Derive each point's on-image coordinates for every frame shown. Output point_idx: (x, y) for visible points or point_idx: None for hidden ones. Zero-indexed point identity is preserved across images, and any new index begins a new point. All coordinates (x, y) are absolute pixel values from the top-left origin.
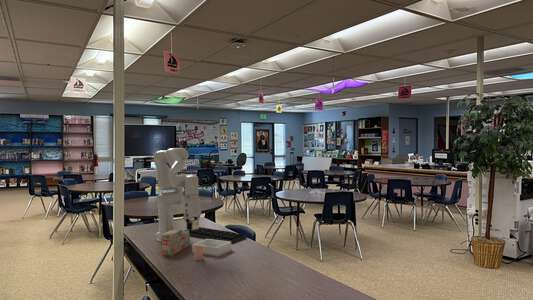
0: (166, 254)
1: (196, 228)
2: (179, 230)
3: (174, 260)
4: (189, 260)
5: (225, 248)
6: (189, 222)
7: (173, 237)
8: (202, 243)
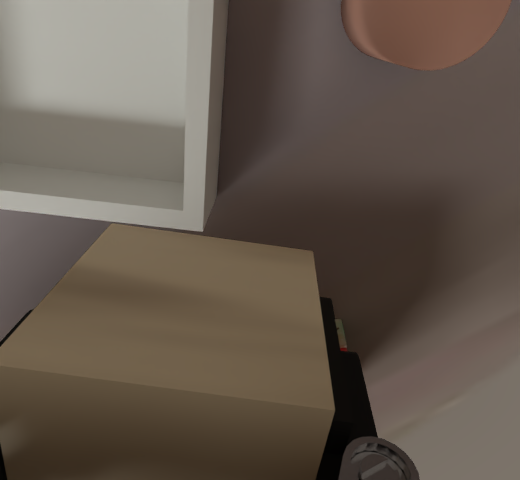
0: None
1: (193, 242)
2: None
3: (463, 227)
4: (444, 87)
5: None
6: (406, 460)
7: None
8: (46, 183)
